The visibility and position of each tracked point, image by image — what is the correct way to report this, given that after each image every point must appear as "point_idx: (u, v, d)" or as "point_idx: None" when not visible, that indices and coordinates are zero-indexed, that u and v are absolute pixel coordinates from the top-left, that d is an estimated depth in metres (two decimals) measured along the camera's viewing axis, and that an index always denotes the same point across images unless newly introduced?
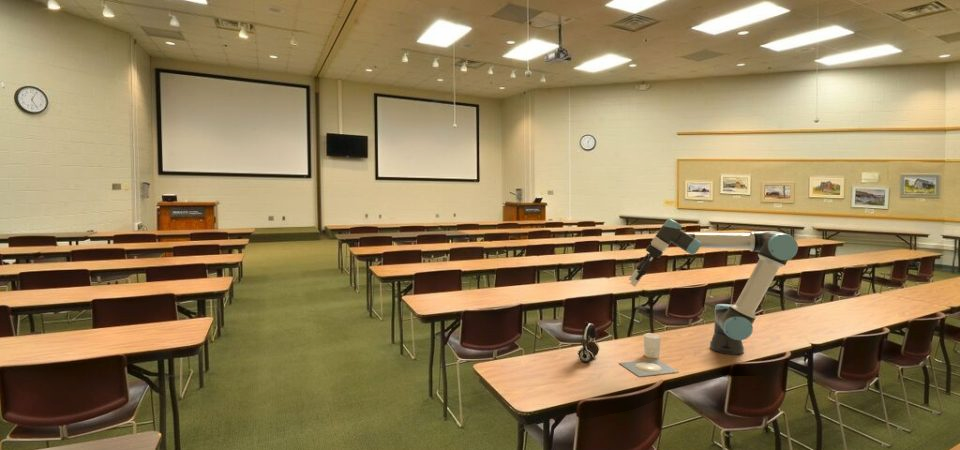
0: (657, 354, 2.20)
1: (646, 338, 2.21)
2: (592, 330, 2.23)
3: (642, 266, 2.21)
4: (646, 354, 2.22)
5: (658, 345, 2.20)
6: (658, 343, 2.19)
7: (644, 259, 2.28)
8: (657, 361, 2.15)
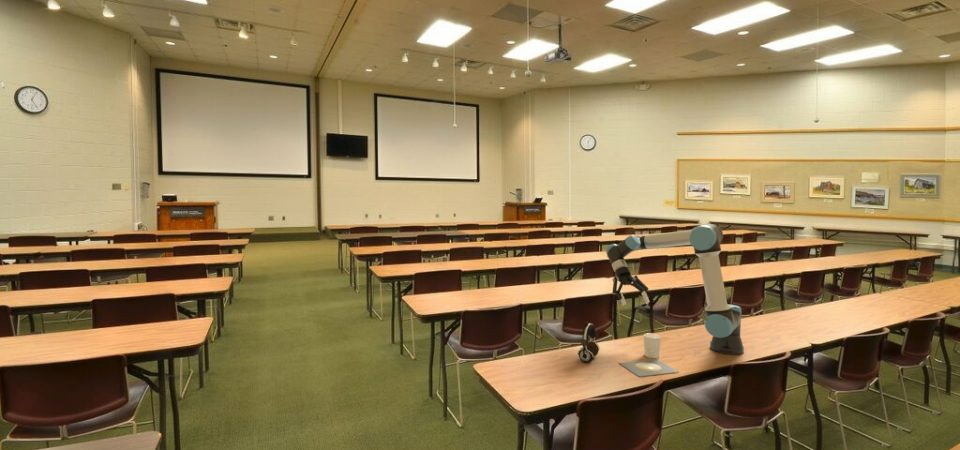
0: (657, 354, 2.20)
1: (646, 338, 2.21)
2: (592, 330, 2.23)
3: (618, 288, 2.40)
4: (646, 354, 2.22)
5: (658, 345, 2.20)
6: (658, 343, 2.19)
7: None
8: (657, 361, 2.15)
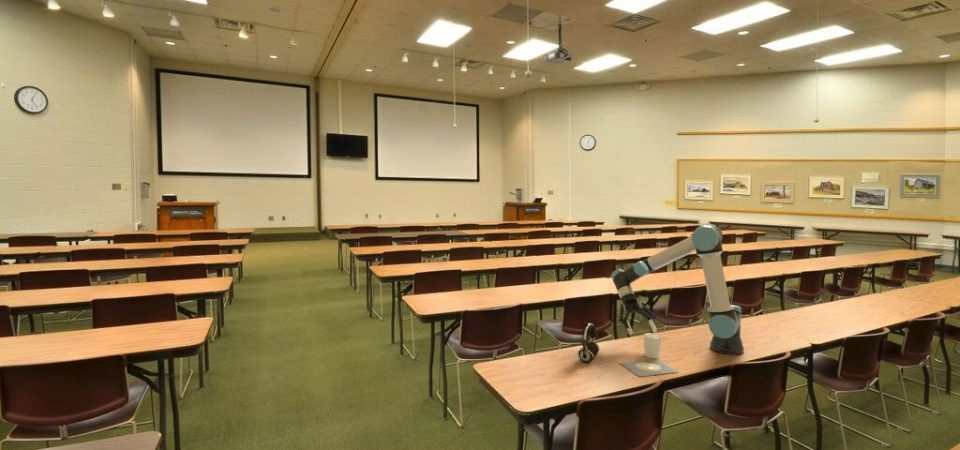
0: (657, 354, 2.20)
1: (646, 338, 2.21)
2: (592, 330, 2.23)
3: None
4: (646, 354, 2.22)
5: (658, 345, 2.20)
6: (658, 343, 2.19)
7: None
8: (657, 361, 2.15)
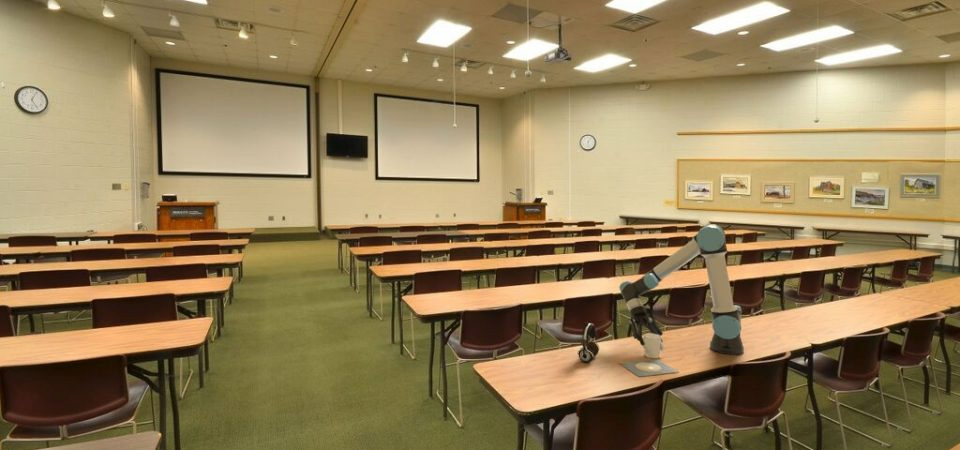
0: (657, 354, 2.20)
1: (646, 338, 2.21)
2: (592, 330, 2.23)
3: None
4: (646, 354, 2.22)
5: (658, 345, 2.20)
6: (658, 343, 2.19)
7: None
8: (657, 361, 2.15)
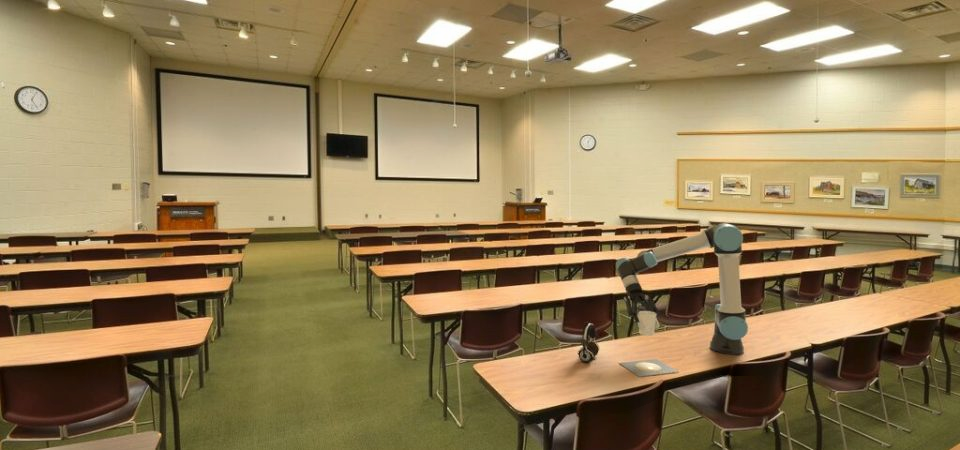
0: (652, 332, 2.13)
1: (641, 315, 2.14)
2: (592, 330, 2.23)
3: (632, 309, 2.20)
4: (640, 332, 2.15)
5: (653, 322, 2.12)
6: (653, 320, 2.12)
7: None
8: (657, 361, 2.15)
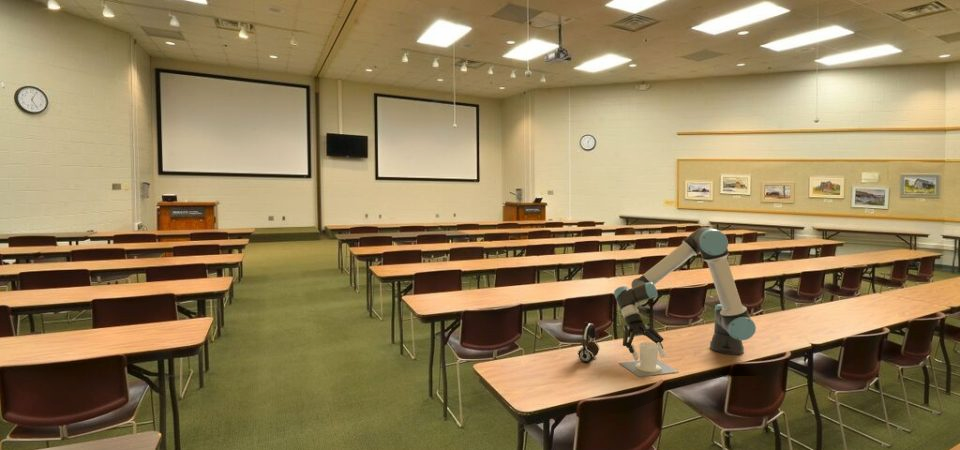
0: (654, 365, 2.05)
1: (642, 348, 2.06)
2: (592, 330, 2.23)
3: None
4: (642, 365, 2.07)
5: (655, 355, 2.04)
6: (655, 353, 2.04)
7: None
8: (657, 361, 2.15)
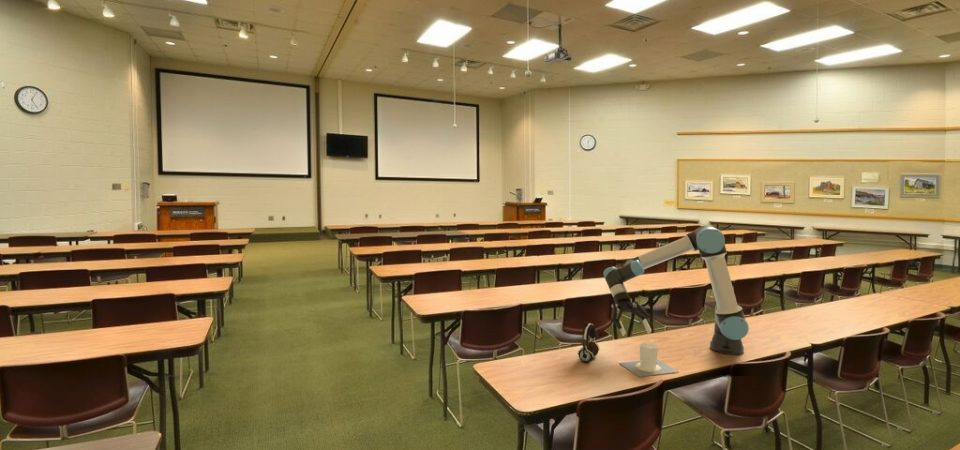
0: (654, 365, 2.05)
1: (642, 348, 2.06)
2: (592, 330, 2.23)
3: (617, 316, 2.22)
4: (642, 365, 2.07)
5: (655, 355, 2.04)
6: (655, 353, 2.04)
7: None
8: (657, 361, 2.15)
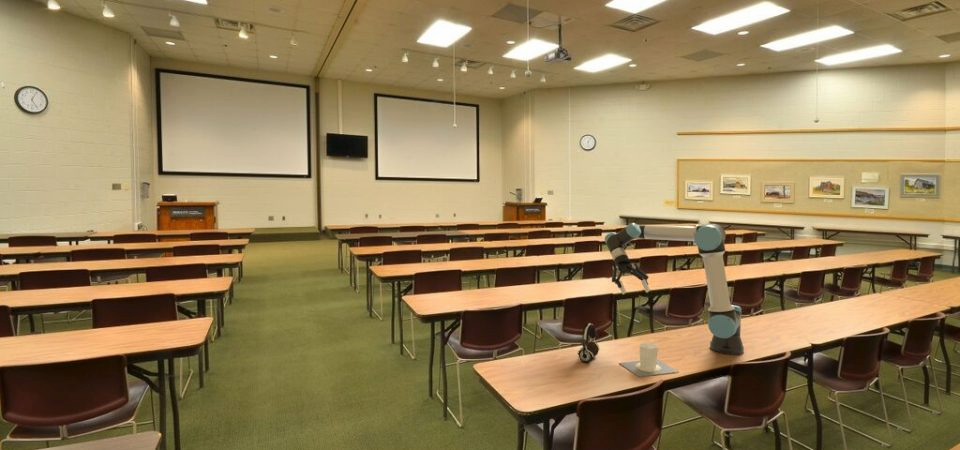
0: (654, 365, 2.05)
1: (642, 348, 2.06)
2: (592, 330, 2.23)
3: (617, 277, 2.35)
4: (642, 365, 2.07)
5: (655, 355, 2.04)
6: (655, 353, 2.04)
7: None
8: (657, 361, 2.15)
